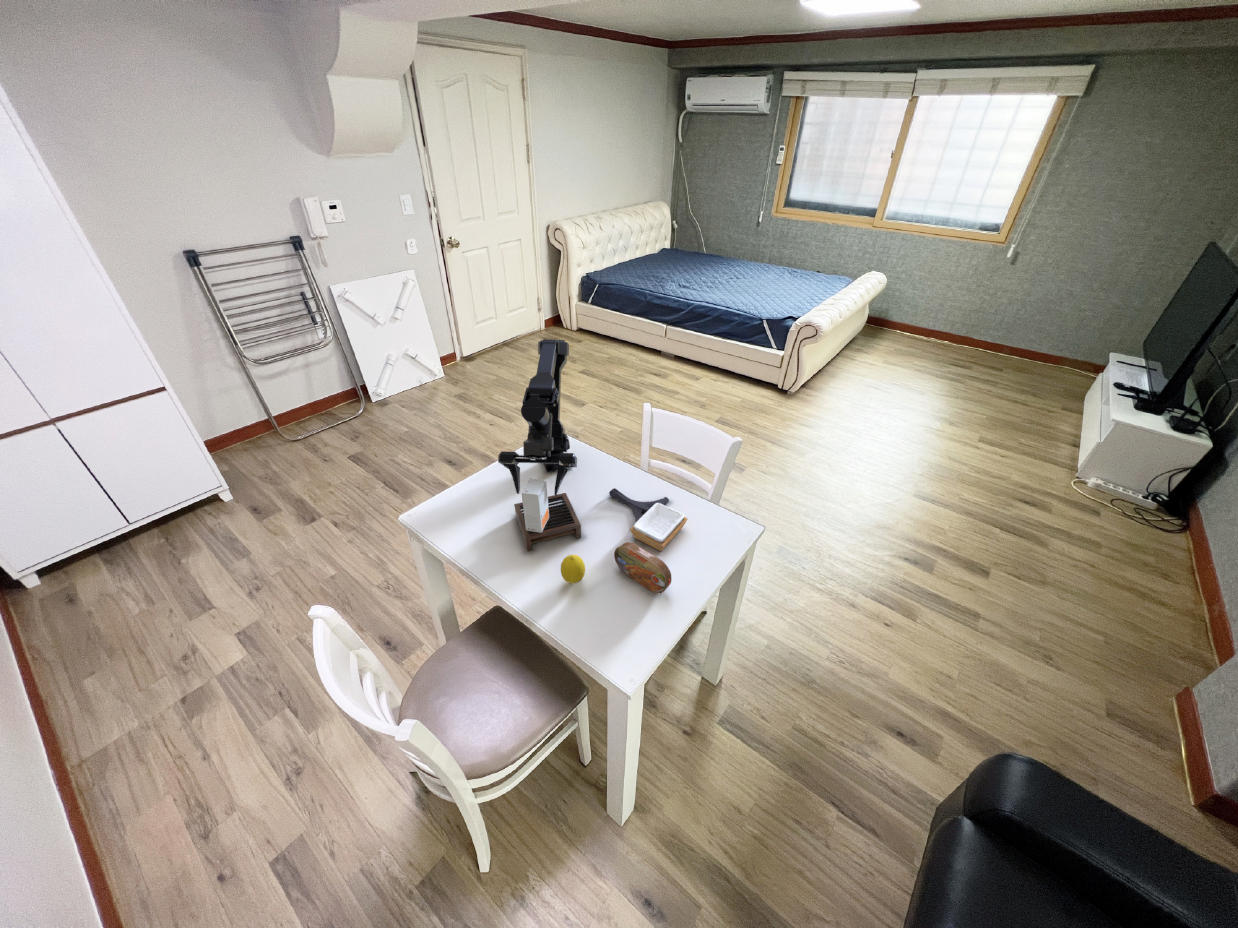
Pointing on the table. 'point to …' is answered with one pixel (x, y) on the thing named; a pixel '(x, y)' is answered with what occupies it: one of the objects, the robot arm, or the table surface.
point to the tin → (643, 567)
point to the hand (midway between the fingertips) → (536, 494)
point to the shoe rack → (551, 521)
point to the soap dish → (658, 526)
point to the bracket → (636, 503)
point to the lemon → (572, 569)
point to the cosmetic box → (535, 505)
